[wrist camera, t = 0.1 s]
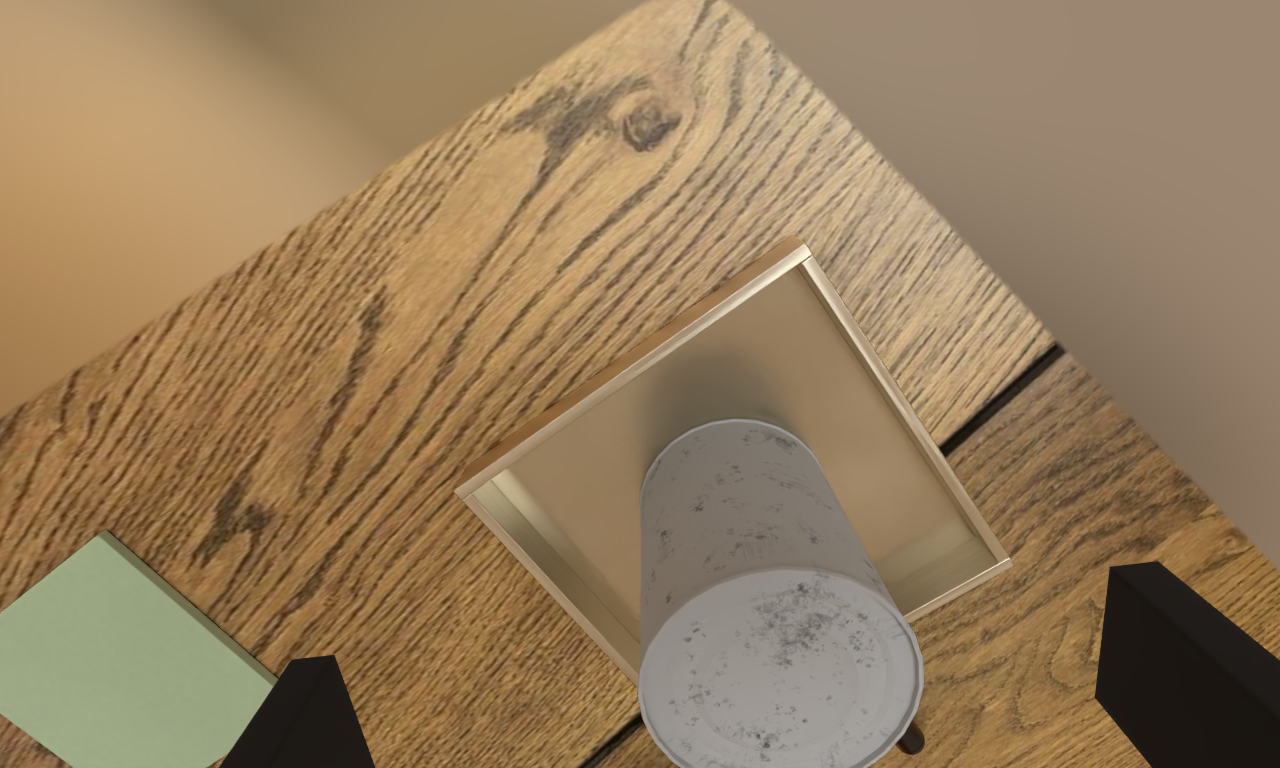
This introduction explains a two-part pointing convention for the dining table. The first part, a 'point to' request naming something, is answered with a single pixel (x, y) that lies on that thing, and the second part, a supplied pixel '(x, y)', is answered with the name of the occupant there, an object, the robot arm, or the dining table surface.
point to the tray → (723, 389)
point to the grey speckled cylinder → (764, 611)
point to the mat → (123, 667)
